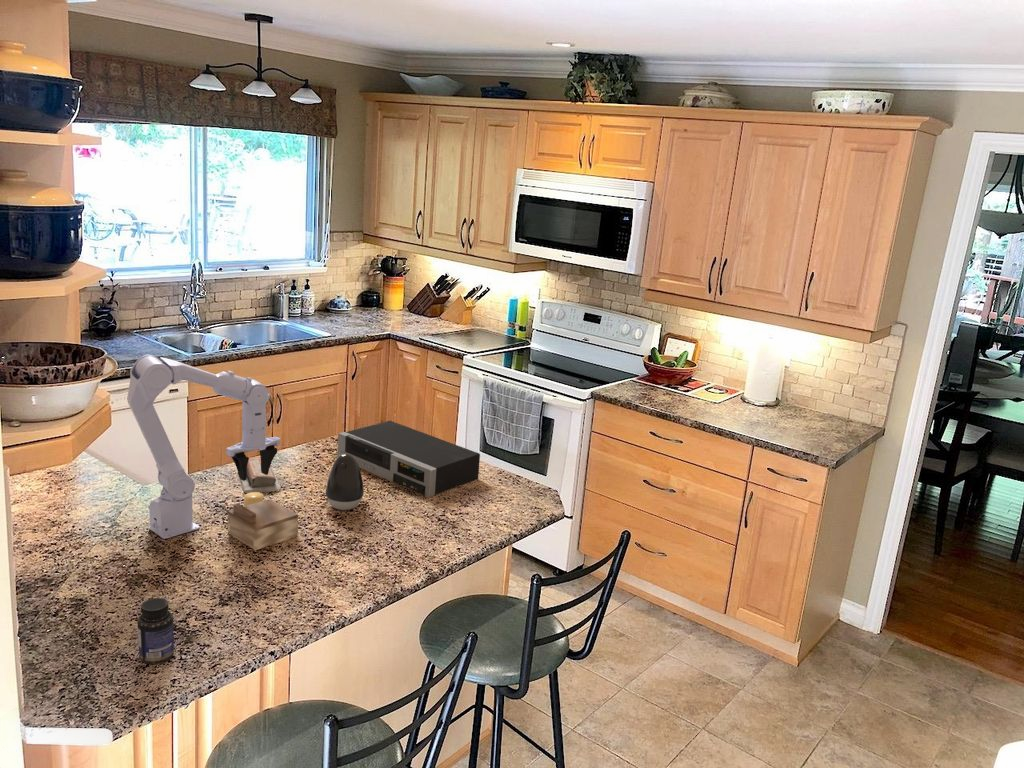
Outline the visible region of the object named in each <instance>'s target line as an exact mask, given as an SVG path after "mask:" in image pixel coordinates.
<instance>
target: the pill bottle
mask: <svg viewBox="0 0 1024 768" xmlns="http://www.w3.org/2000/svg"><path fill="white" fill-rule="evenodd" d="M169 608H170V607H169V601H168V600H167V599H166V598H164V597H154V598H149V599H146V600H144V601H143V602H142V603H141V606H140V612H141V614H140V615H139V617H138V618H137V641H138V643H137V644H138V658H139V660H140V661H141V662H142V663H144V664H147V665H159V664H163V663H166V662H168V661H169V660H171V659H172V658H173V657H174V655H175V640H174V639H175V638H174V637H175V636H174V635H175V634H174V633H175V632H174V616H173V614H172V612H171V611H170V610H169Z"/></svg>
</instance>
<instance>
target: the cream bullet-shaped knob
mask: <svg viewBox="0 0 1024 768" xmlns="http://www.w3.org/2000/svg"><path fill="white" fill-rule="evenodd" d="M243 501H244V503H243V504H244V505H243V507H244V506H248V505H251V504H255V503H258V502H262V501H264V494H263V493H258V492H252V493H247V494H245V493H244V497H243Z"/></svg>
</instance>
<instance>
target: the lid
mask: <svg viewBox="0 0 1024 768" xmlns="http://www.w3.org/2000/svg"><path fill="white" fill-rule="evenodd" d="M232 507H233V509H231V510H228V512H227V515H228V514H229V515H231V516H232V517H234V518H235V519H237V520H239V521H240V522H242V523H244V524H245V525H247V526H248V527H250V528H252V529H253V530H255V531H257V530H260V529H263V528H266V527H269V526H272V525H276V524H279V523H282V522H285V521H288V520H291V519H295V518H298V519H299V514H298V513H296V512H294V511H293V510H291V509H289V508H287V507H286V506H284V505H282V504H280V503H278V502H276V501H275V500H273V499H271V498H269V499H266V500H263V501H262V502H258V503H255V504H251V505H248V506H244V505H241V504H239V503H234V504H233V506H232Z"/></svg>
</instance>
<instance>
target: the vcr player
mask: <svg viewBox="0 0 1024 768" xmlns="http://www.w3.org/2000/svg"><path fill="white" fill-rule="evenodd" d="M342 454H350V455H352V456H353V457H354V458H355V459H356V461H357V463H358V465H359V468H360V470H361V469H362V470H364V471H367V472H369V473H371V474H374V475H376V476H378V477H380V478H383V479H385V480H388V482H389V481H390V482H392V483H395V484H397V485H399V486H401V487H403V488H406V489H408V488H409V489H408V490H411V491H413V492H416V493H418V494H420V495H422V496H425V497H427V498H431V497H434V496H436V495H439V494H441V493H443V492H447V491H449V490H452V489H454V488H458V487H460V486H462V485H466V484H469V483H471V482H474V481H477V480H478V479H479V475H480V474H479V473H480V462H481V461H480V458H481V453H479V452H477V451H473V450H472V449H471V450H470V449H468V448H466V447H463V446H460V445H457V444H455V443H453V442H449V441H446V440H444V439H441V438H439V437H435V436H433V435H430V434H427V433H425V432H422V431H420V430H417V429H415V428H414V429H413V428H411V427H408V426H406V425H402V424H400V423H397V422H395V421H392V420H388V421H384V422H379V423H376V424H372V425H367V426H365V427H360V428H356V429H353V430H348V431H343V432H338V434H337V457H338V456H340V455H342Z"/></svg>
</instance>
